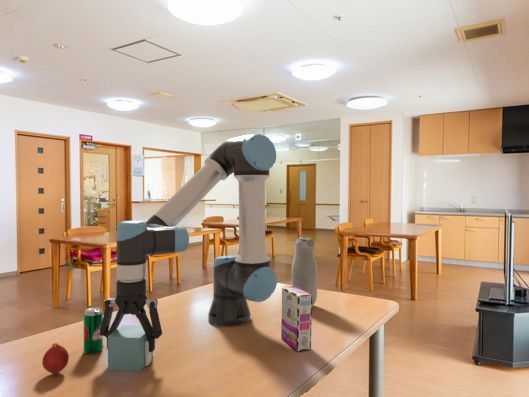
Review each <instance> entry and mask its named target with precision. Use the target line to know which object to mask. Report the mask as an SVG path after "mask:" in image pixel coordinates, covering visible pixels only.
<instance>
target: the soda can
mask: <svg viewBox="0 0 529 397" xmlns="http://www.w3.org/2000/svg"><path fill="white" fill-rule="evenodd" d="M103 316H104V312H103V311H102V307H89V308H86V309H85V310H84V313H83V352H84V353H85V354H87V355H94V354H95V355H96V354H97V353H98V354H99V353H100V352H101V351H102V350H103V347H104V343H103V342H104V336H100V329H101V325H102V320H103Z"/></svg>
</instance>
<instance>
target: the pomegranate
mask: <svg viewBox="0 0 529 397" xmlns="http://www.w3.org/2000/svg"><path fill="white" fill-rule="evenodd" d="M69 358H70V355H69V352H68V350H67V349H66V348H65V346H62V345H61V344H58V342H54V343H53V344H52V345H51V347H50V348H48V350H46V351H45V353H44V355H43V357H42V363H41V364H42V367H43V369H44V370H45V371H46V372H49V373H51V374H52V375H54V376H55V375H58V374H60V373H61V371H63V370H64V369H65V368H66V367H67V365H68V363H69Z"/></svg>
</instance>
